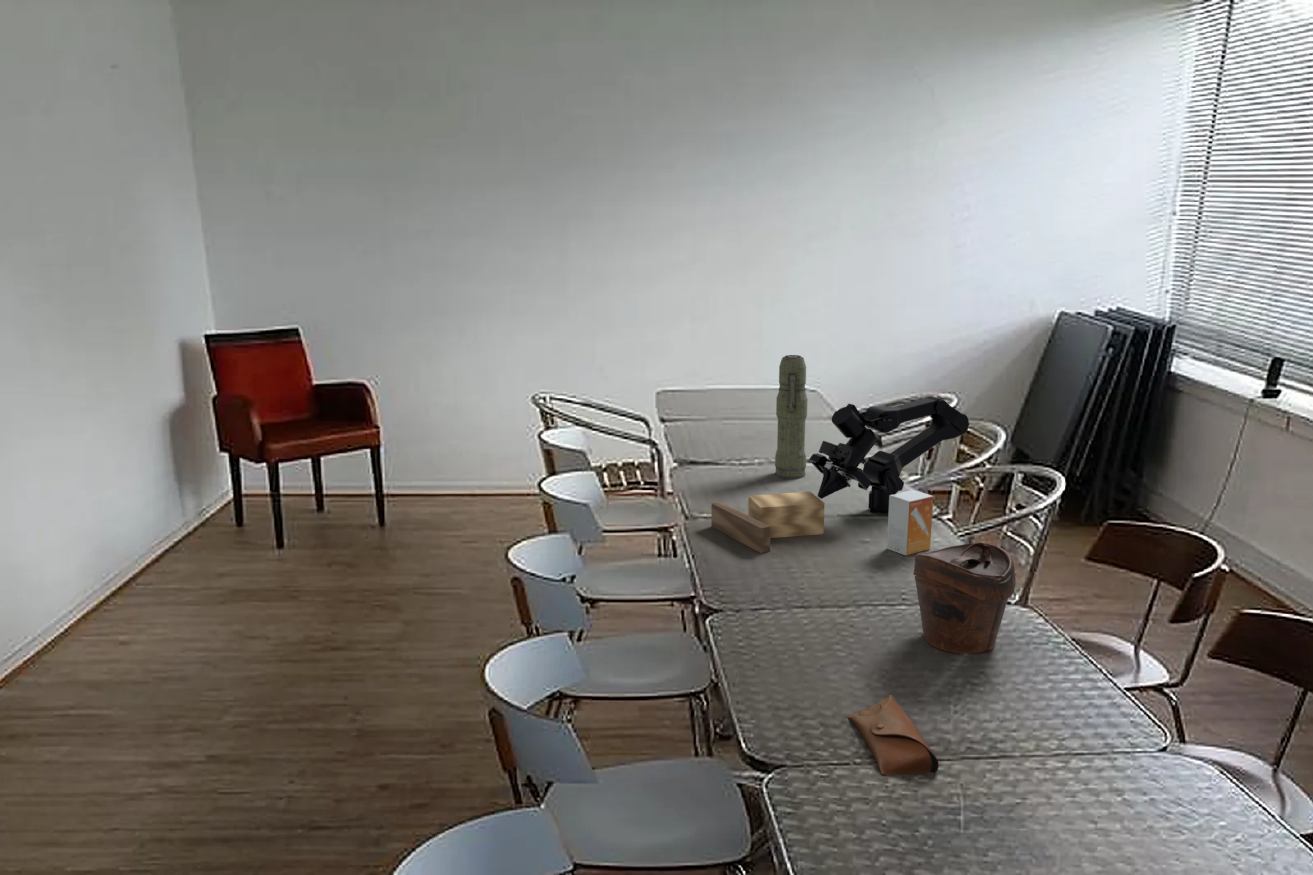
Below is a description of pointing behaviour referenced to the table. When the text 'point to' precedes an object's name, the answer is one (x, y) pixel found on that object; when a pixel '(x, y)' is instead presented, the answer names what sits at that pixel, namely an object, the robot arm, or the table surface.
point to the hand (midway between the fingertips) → (819, 497)
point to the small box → (909, 522)
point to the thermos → (791, 418)
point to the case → (963, 595)
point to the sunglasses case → (894, 739)
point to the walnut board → (741, 527)
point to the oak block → (788, 513)
